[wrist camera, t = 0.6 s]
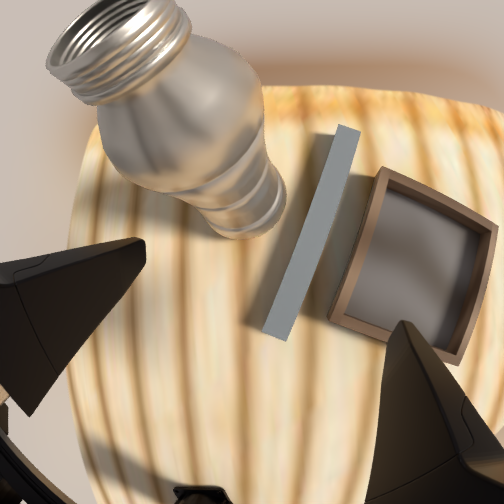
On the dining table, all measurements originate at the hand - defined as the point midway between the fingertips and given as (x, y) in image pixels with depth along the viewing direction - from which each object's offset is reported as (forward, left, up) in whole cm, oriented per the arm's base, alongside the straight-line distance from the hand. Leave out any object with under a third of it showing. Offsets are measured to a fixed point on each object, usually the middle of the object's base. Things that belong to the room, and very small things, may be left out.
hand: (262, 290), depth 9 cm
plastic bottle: (-1, +7, -14) cm, 16 cm away
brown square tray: (+11, -3, -14) cm, 18 cm away
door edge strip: (+4, +3, -14) cm, 15 cm away
